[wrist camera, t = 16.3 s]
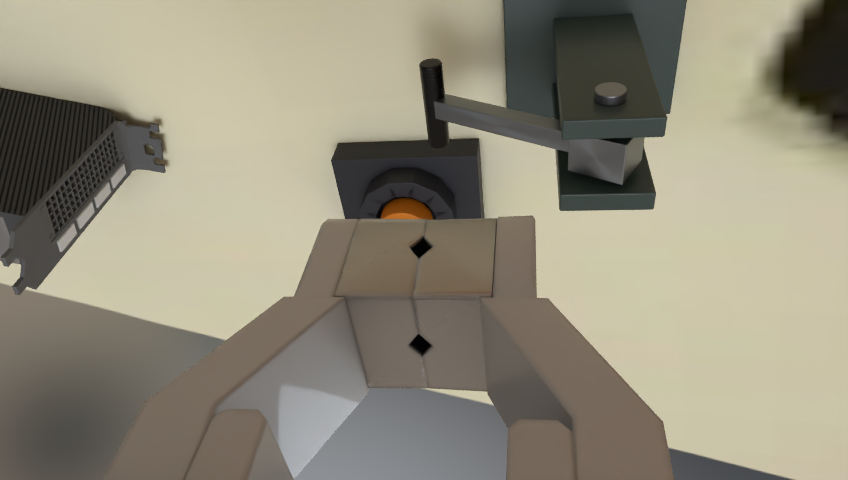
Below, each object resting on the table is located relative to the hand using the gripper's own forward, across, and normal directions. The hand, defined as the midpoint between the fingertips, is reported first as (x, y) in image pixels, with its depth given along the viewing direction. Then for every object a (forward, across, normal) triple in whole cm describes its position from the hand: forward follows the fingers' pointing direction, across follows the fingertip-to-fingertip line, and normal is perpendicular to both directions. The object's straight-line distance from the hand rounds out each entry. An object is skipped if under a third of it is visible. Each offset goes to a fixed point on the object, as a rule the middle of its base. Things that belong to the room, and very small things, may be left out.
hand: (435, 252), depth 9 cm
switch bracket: (+31, -5, +11) cm, 33 cm away
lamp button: (+28, +7, +21) cm, 35 cm away
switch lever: (+23, -2, +11) cm, 26 cm away
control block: (+31, +7, +21) cm, 38 cm away
